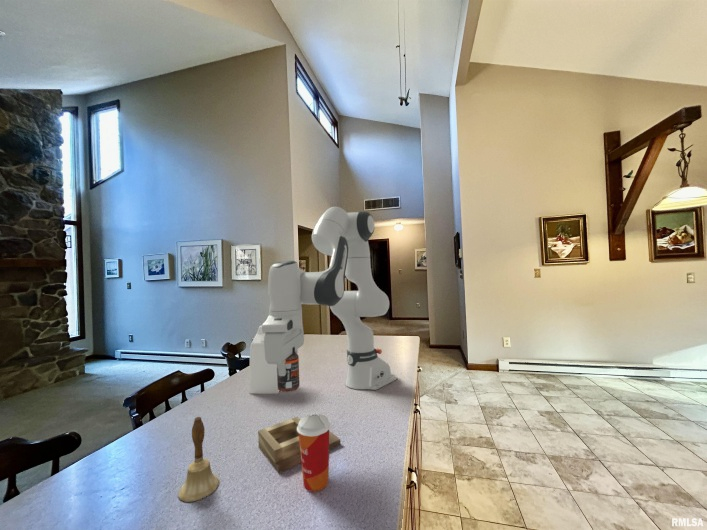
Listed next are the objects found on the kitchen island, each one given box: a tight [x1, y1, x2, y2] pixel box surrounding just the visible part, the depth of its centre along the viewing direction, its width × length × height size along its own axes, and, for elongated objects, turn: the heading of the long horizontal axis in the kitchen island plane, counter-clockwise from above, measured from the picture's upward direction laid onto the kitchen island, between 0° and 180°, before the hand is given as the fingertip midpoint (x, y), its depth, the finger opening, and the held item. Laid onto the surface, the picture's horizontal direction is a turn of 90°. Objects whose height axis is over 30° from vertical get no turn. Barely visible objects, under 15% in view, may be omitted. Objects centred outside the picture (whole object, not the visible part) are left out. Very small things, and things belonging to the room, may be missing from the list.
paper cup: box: [297, 413, 332, 493], centre depth 69 cm, size 8×8×14 cm
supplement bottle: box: [277, 346, 300, 393], centre depth 82 cm, size 6×6×11 cm
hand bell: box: [177, 416, 220, 503], centre depth 68 cm, size 8×8×16 cm
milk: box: [248, 325, 280, 394], centre depth 127 cm, size 12×12×26 cm
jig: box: [257, 416, 341, 474], centre depth 83 cm, size 18×14×4 cm
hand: (287, 370), depth 82 cm, fingers closed on supplement bottle, 6 cm apart
